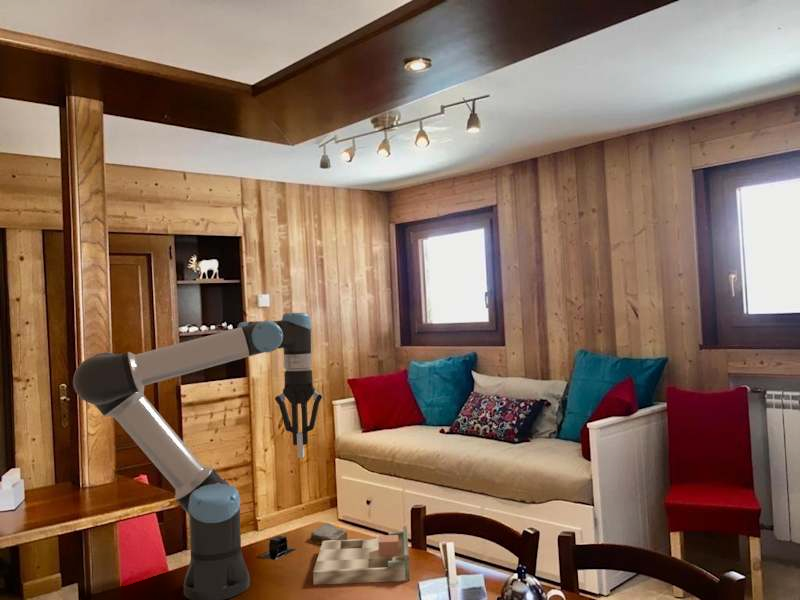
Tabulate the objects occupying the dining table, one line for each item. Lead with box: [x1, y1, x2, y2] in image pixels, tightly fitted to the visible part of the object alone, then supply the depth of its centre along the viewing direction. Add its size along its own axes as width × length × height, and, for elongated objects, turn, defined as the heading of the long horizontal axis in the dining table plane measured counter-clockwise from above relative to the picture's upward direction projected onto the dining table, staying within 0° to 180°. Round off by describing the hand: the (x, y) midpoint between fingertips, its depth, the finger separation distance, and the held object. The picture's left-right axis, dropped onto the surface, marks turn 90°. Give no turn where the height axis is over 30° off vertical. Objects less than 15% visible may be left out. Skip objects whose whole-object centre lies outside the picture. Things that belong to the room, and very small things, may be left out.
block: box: [378, 534, 399, 556], centre depth 168 cm, size 5×5×4 cm
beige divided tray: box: [312, 525, 411, 586], centre depth 168 cm, size 23×22×6 cm
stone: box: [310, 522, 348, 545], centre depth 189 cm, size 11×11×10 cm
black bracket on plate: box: [259, 534, 297, 561], centre depth 179 cm, size 12×7×5 cm, turn 149°
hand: (301, 456), depth 177 cm, fingers closed
